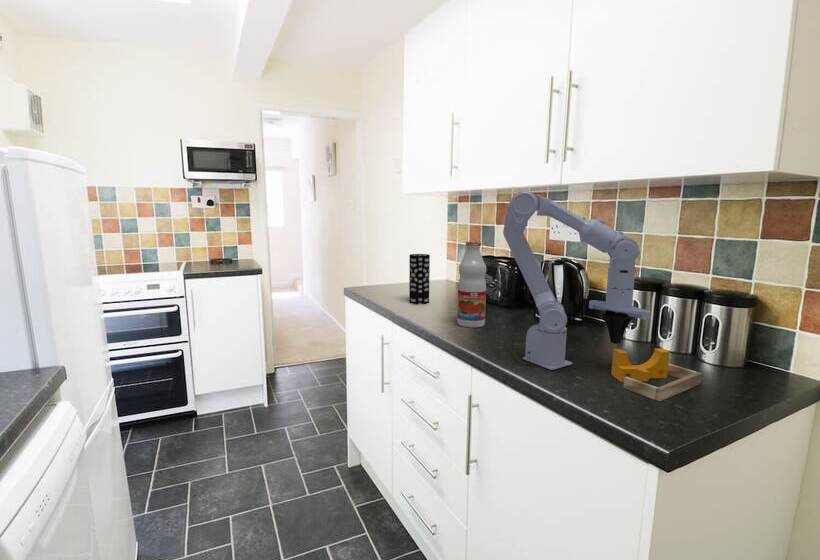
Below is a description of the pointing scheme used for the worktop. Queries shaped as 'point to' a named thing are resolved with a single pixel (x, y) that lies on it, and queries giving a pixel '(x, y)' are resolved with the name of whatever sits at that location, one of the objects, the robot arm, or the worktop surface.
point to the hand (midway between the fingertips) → (615, 342)
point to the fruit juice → (472, 288)
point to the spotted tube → (419, 278)
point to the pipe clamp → (640, 366)
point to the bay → (661, 393)
